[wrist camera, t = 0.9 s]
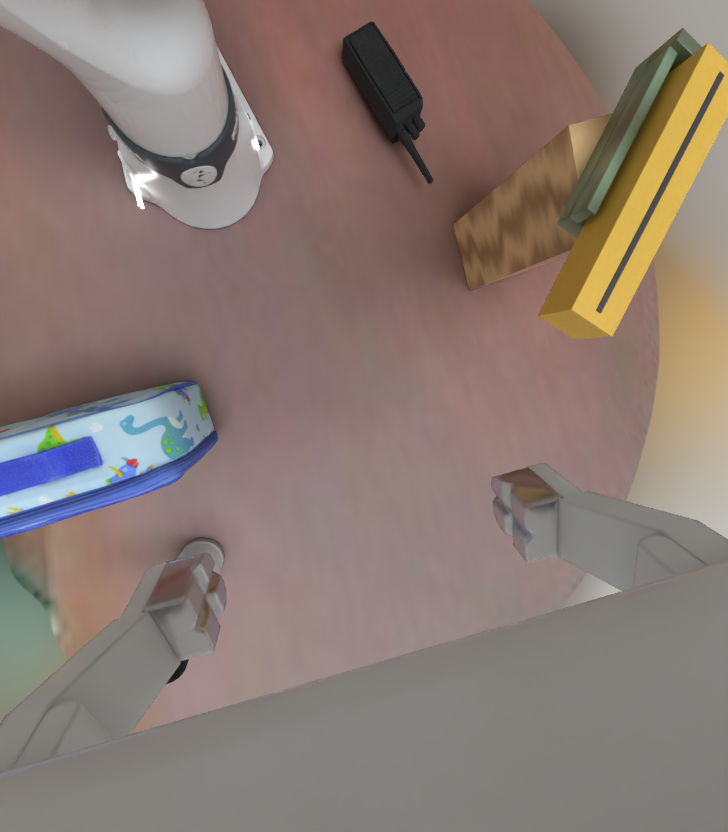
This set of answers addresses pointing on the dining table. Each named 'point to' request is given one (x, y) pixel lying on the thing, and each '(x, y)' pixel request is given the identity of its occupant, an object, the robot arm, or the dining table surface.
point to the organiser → (560, 182)
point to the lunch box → (99, 454)
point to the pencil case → (641, 200)
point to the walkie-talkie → (386, 87)
